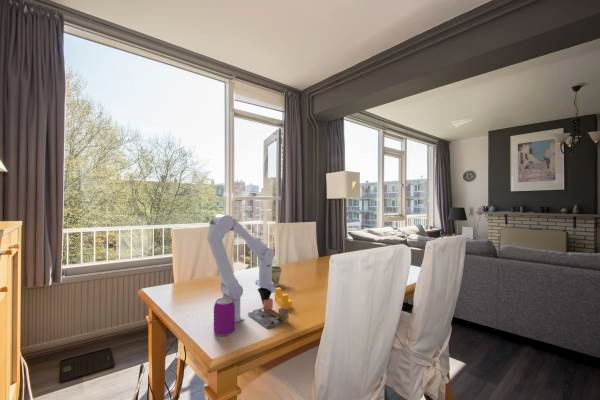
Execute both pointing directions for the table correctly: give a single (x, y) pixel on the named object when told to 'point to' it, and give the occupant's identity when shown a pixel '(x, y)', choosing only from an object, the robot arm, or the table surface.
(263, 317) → the strip
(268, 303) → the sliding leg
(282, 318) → the trammel bar
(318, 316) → the table surface
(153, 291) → the table surface
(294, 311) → the table surface
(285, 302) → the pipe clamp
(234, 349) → the table surface
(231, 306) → the beverage can
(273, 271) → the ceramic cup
